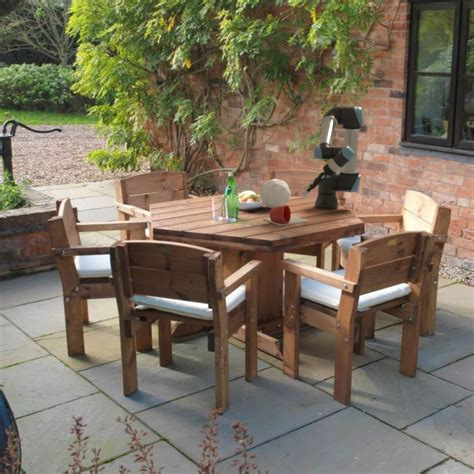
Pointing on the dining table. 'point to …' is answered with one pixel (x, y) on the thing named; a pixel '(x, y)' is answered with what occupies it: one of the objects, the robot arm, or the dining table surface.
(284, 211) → the flower pot
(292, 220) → the stone tile
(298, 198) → the dining table surface
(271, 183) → the geometric orb
